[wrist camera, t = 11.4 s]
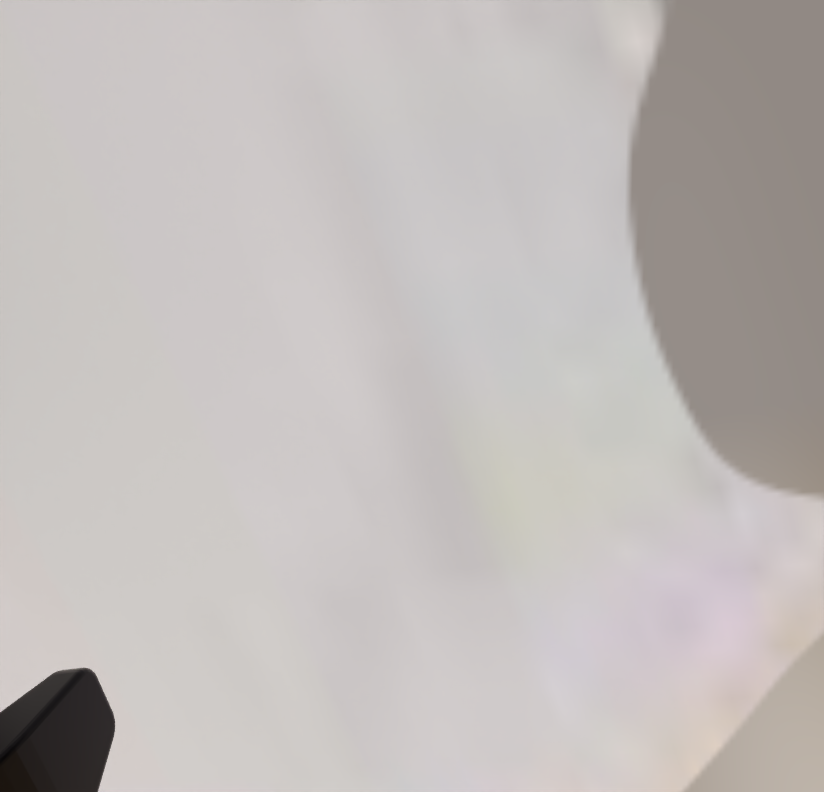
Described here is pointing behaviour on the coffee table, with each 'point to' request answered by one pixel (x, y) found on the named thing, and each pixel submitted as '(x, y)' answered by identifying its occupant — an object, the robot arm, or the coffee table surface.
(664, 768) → the coffee table surface
